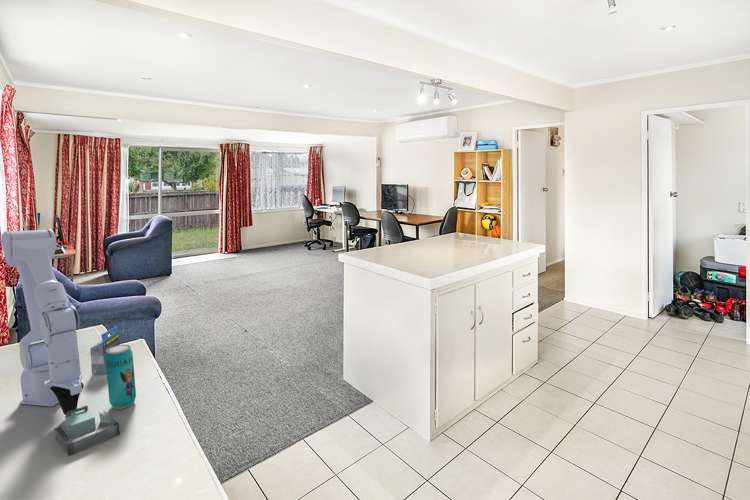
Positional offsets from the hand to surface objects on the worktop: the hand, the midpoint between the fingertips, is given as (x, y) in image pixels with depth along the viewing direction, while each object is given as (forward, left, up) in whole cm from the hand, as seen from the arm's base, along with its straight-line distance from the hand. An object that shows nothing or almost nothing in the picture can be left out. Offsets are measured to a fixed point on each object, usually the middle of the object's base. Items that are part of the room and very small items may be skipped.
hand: (69, 413), depth 96 cm
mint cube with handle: (+6, -3, -1) cm, 7 cm away
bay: (+10, -6, -1) cm, 12 cm away
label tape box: (-13, +25, -1) cm, 28 cm away
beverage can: (+8, +7, -1) cm, 11 cm away
